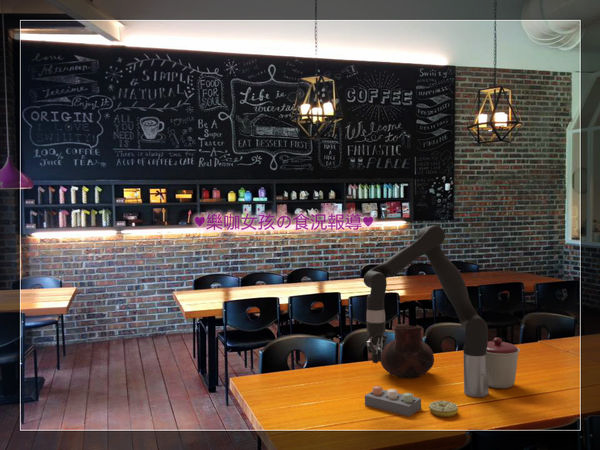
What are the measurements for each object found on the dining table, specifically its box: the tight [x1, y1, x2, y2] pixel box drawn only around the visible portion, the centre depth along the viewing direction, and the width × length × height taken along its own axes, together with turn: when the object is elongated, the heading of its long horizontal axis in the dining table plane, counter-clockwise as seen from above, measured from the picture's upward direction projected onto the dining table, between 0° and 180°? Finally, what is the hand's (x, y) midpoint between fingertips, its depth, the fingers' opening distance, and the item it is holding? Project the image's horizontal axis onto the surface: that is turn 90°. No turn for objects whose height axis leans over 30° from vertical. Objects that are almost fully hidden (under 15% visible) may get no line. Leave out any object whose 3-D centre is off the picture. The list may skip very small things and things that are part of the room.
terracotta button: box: [372, 385, 383, 396], centre depth 216 cm, size 4×4×4 cm
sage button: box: [402, 392, 414, 404], centre depth 207 cm, size 4×4×4 cm
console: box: [364, 388, 422, 417], centre depth 212 cm, size 20×10×4 cm, turn 50°
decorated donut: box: [428, 400, 459, 418], centre depth 204 cm, size 10×11×4 cm
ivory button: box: [387, 388, 399, 400], centre depth 211 cm, size 4×4×4 cm
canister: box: [486, 337, 521, 389], centre depth 233 cm, size 18×18×21 cm
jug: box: [380, 323, 435, 380], centre depth 249 cm, size 25×25×25 cm
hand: (376, 361), depth 215 cm, fingers closed
